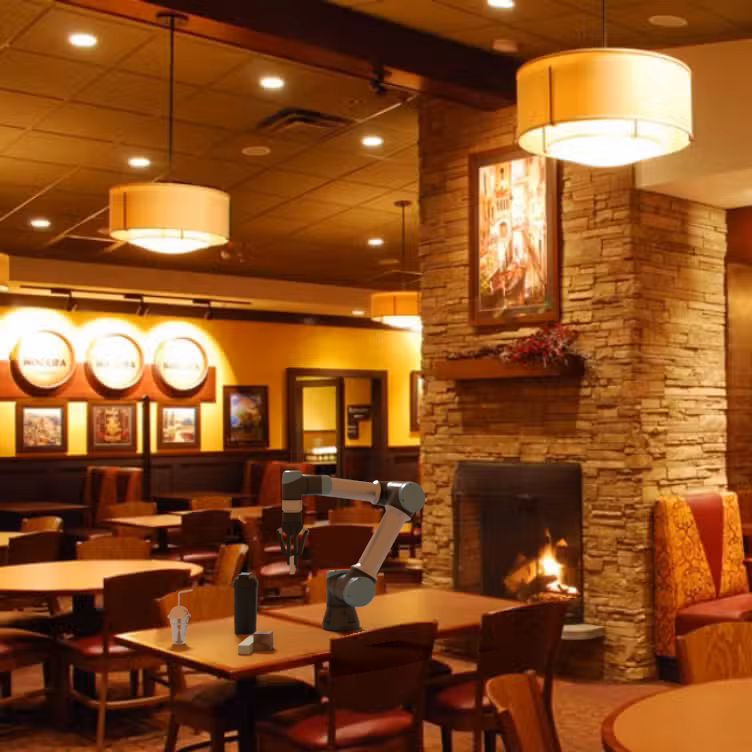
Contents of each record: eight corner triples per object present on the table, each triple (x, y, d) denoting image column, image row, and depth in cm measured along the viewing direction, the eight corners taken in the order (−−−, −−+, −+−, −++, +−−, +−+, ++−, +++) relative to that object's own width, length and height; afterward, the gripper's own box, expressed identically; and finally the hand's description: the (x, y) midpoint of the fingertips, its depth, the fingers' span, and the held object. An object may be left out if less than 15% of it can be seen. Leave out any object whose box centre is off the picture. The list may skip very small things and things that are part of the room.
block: (273, 647, 406) (273, 631, 406) (269, 650, 400) (269, 633, 401) (256, 647, 407) (256, 630, 407) (253, 650, 401) (253, 633, 401)
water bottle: (260, 630, 441) (260, 571, 442) (255, 635, 431) (255, 574, 432) (235, 630, 442) (235, 571, 443) (229, 634, 432) (229, 574, 433)
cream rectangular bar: (260, 643, 414) (260, 635, 414) (249, 654, 394) (249, 645, 394) (250, 643, 414) (250, 635, 414) (238, 653, 394) (238, 645, 395)
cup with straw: (176, 640, 421) (177, 586, 422) (196, 642, 417) (196, 588, 418) (162, 644, 413) (162, 589, 414) (182, 646, 409) (182, 591, 410)
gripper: (310, 510, 428) (310, 572, 427) (277, 510, 430) (277, 572, 428) (307, 512, 421) (307, 575, 420) (273, 512, 422) (273, 574, 421)
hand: (292, 573), depth 424 cm, fingers closed
